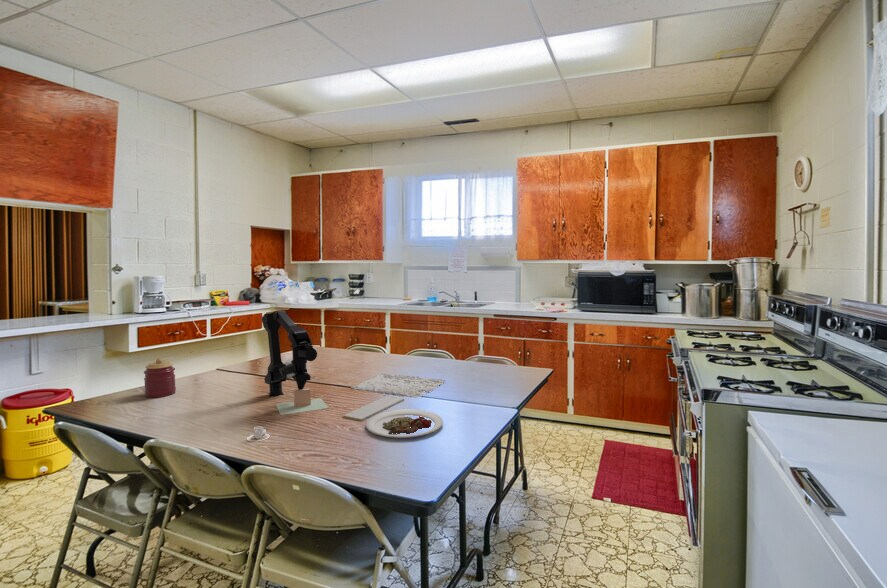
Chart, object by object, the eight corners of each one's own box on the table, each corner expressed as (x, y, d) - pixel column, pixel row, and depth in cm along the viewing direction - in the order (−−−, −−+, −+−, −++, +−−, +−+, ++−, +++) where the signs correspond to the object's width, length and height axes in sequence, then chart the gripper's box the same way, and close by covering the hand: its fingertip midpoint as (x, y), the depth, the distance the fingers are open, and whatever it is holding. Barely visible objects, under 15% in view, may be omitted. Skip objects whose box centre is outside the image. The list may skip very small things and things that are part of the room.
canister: (149, 391, 227) (147, 356, 226) (178, 389, 231) (177, 354, 230) (141, 399, 215) (139, 362, 214) (172, 396, 219) (170, 360, 218)
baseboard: (338, 417, 191) (361, 422, 185) (338, 411, 190) (361, 415, 185) (383, 397, 218) (404, 401, 212) (383, 392, 217) (404, 395, 212)
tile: (293, 405, 203) (293, 390, 203) (309, 403, 206) (309, 388, 206) (294, 407, 201) (294, 391, 201) (310, 404, 204) (310, 389, 204)
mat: (275, 405, 205) (275, 404, 205) (321, 399, 214) (321, 398, 214) (280, 416, 191) (280, 414, 191) (328, 408, 200) (328, 407, 200)
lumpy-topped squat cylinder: (309, 374, 261) (308, 359, 261) (291, 379, 250) (290, 363, 250) (296, 371, 267) (296, 357, 266) (278, 376, 256) (277, 361, 255)
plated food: (355, 421, 185) (355, 413, 185) (421, 409, 200) (421, 401, 200) (383, 448, 159) (383, 438, 159) (457, 431, 174) (457, 423, 174)
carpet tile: (445, 383, 243) (445, 379, 243) (420, 399, 215) (420, 395, 215) (381, 376, 259) (381, 372, 259) (350, 390, 231) (350, 386, 231)
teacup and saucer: (259, 432, 174) (259, 422, 174) (276, 435, 171) (275, 424, 171) (241, 440, 166) (241, 430, 166) (258, 444, 163) (258, 433, 163)
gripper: (277, 356, 209) (278, 389, 210) (283, 364, 193) (284, 400, 194) (302, 353, 214) (303, 386, 215) (310, 361, 198) (311, 396, 199)
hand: (300, 392), depth 206 cm, fingers closed
